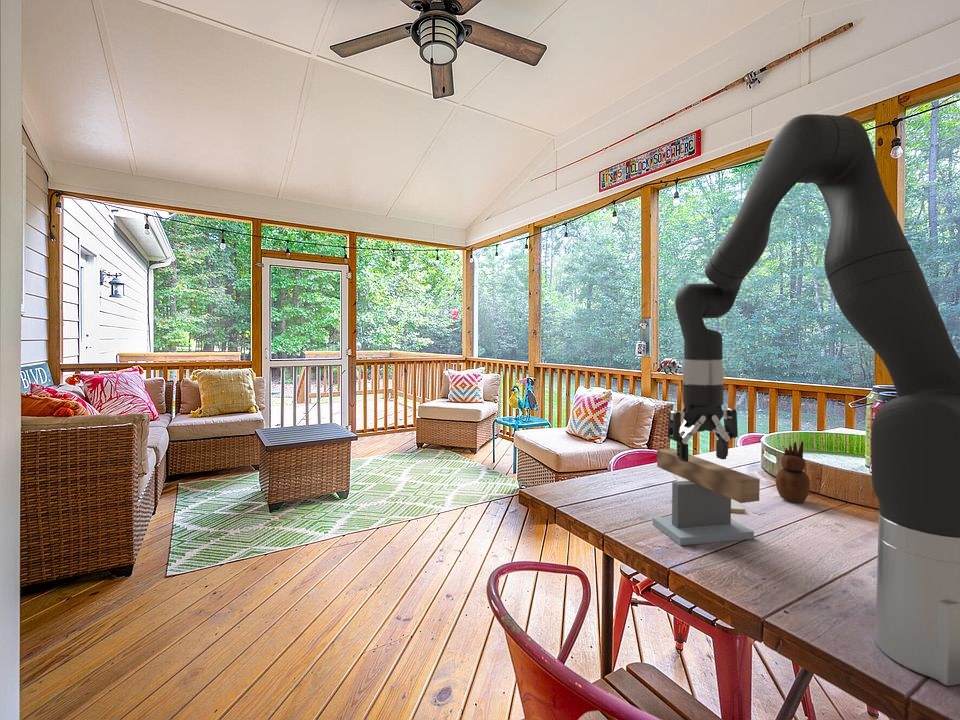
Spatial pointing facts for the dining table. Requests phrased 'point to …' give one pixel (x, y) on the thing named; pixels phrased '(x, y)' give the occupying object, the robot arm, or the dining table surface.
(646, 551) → the dining table surface
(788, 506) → the dining table surface
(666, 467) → the walnut bar
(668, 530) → the fulcrum board
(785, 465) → the wooden figurine
